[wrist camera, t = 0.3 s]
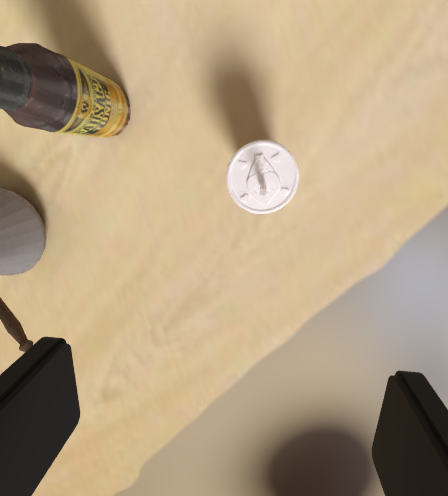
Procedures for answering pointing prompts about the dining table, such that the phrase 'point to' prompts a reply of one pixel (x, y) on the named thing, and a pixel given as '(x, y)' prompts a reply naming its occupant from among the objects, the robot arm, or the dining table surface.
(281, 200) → the smoothie
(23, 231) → the coffee pot
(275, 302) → the dining table surface
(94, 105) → the sauce bottle
